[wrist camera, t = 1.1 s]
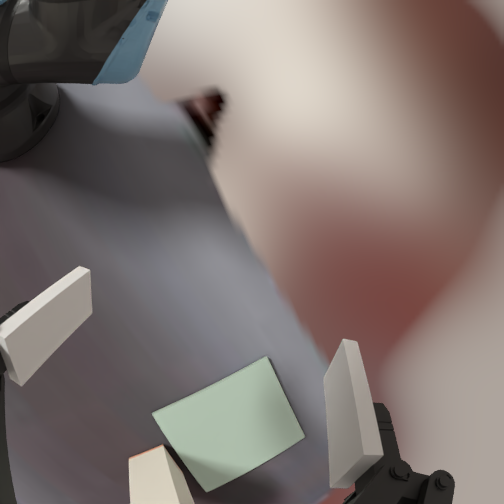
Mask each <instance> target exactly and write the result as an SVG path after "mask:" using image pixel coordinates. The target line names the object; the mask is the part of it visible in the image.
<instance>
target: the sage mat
mask: <svg viewBox="0 0 504 504" xmlns="http://www.w3.org/2000/svg"><path fill="white" fill-rule="evenodd" d="M152 415H153V417H154V418H155V420H156V422H157V423H158V425H159V426H160V428H161V430H162V431H163V433H164V434H165V436H166V437H167V439H168V440H169V442H170V443H171V445H172V446H173V448H174V449H175V451H176V452H177V454H178V455H179V457H180V458H181V460H182V461H183V462H184V464H185V465H186V467H187V468H188V469H189V471H190V472H191V473H192V475H193V476H194V477H195V479H196V480H197V481H198V483H199V484H200V485H201V486H202V488H203V489H204V490H205V491H206V492H209V491H211V490H213V489H215V488H217V487H219V486H221V485H223V484H225V483H227V482H229V481H231V480H233V479H235V478H237V477H239V476H241V475H243V474H245V473H247V472H248V471H250V470H252V469H254V468H256V467H257V466H259V465H261V464H263V463H264V462H266V461H268V460H270V459H271V458H273V457H275V456H276V455H278V454H279V453H281V452H283V451H284V450H286V449H287V448H289V447H291V446H292V445H294V444H295V443H297V442H298V441H300V440H301V439H303V438H304V437H305V435H304V433H303V431H302V429H301V427H300V425H299V423H298V421H297V419H296V417H295V415H294V413H293V411H292V409H291V406H290V404H289V402H288V400H287V398H286V396H285V394H284V392H283V390H282V388H281V385H280V383H279V381H278V379H277V377H276V375H275V373H274V370H273V368H272V366H271V364H270V362H269V360H268V357H266V356H265V357H263V358H261V359H260V360H258V361H256V362H254V363H252V364H251V365H249V366H247V367H245V368H243V369H241V370H239V371H238V372H236V373H234V374H232V375H230V376H228V377H226V378H224V379H222V380H220V381H218V382H216V383H214V384H212V385H210V386H208V387H206V388H204V389H202V390H200V391H198V392H196V393H194V394H192V395H190V396H188V397H186V398H184V399H181V400H179V401H177V402H175V403H173V404H171V405H168V406H166V407H164V408H162V409H159V410H157V411H155V412H153V413H152Z"/></svg>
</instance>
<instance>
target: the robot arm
mask: <svg viewBox="0 0 504 504" xmlns="http://www.w3.org/2000/svg"><path fill="white" fill-rule="evenodd" d="M167 2H168V0H0V162H3V161H8V160H11V159H14V158H16V157H18V156H20V155H22V154H24V153H25V152H27V151H28V150H30V149H31V148H32V147H33V146H35V145H36V144H37V143H38V142H39V141H40V140H41V139H42V138H43V137H44V136H45V134H46V133H47V132H48V130H49V129H50V128H51V126H52V124H53V122H54V120H55V118H56V116H57V113H58V110H59V103H60V99H59V93H58V89H57V85H56V83H80V84H92V85H97V84H99V83H110V84H123V83H126V82H129V81H130V80H132V79H134V78H135V77H136V76H137V74H138V73H139V71H140V68H141V66H142V63H143V61H144V58H145V55H146V53H147V50H148V48H149V45H150V42H151V40H152V37H153V35H154V32H155V30H156V27H157V25H158V22H159V20H160V18H161V16H162V13H163V11H164V8H165V6H166V4H167ZM91 314H92V300H91V279H90V270H89V269H86V268H83V267H80V266H79V267H77V268H76V269H74V270H73V271H72V272H70V273H69V274H67V275H66V276H64V277H63V278H62V279H60V280H59V281H57V282H56V283H55V284H53V285H52V286H51V287H49V288H48V289H46V290H45V291H44V292H42V293H41V294H40V295H38V296H37V297H36V298H34V299H33V300H32V301H30V302H29V301H26V302H23V303H21V304H18V305H17V306H16V307H14V308H13V309H12V310H11V311H9V312H8V313H6V315H4V316H3V317H1V318H0V504H17V502H16V498H15V493H14V488H13V483H12V477H11V471H10V465H9V457H8V449H7V439H6V426H5V396H4V392H5V378H4V375H3V373H4V372H5V371H6V370H7V371H8V374H9V376H10V379H11V380H13V381H14V382H16V383H17V384H19V385H20V386H21V387H22V386H23V385H24V384H25V382H26V381H27V380H28V379H29V378H30V377H31V376H32V375H33V374H34V373H35V371H36V370H37V369H38V368H39V367H40V366H41V365H42V364H43V363H44V362H45V361H46V360H47V359H48V358H49V357H50V355H51V354H52V353H53V352H54V351H55V350H56V349H57V348H58V347H59V346H60V345H61V344H62V343H63V342H64V341H65V340H66V339H67V338H68V337H69V336H70V335H71V334H72V333H73V332H74V331H75V330H76V329H77V328H78V327H79V326H80V325H81V324H82V323H83V322H84V321H85V320H86V319H87V318H88V317H89V316H90V315H91ZM323 381H324V392H325V405H326V418H327V433H328V451H329V474H330V488H349V487H350V486H351V485H352V484H353V483H355V491H354V492H353V493H352V494H350V495H349V496H348V497H347V498H345V499H344V500H345V502H344V503H343V504H452V500H453V494H454V487H455V482H454V479H453V477H452V476H451V475H450V474H449V473H448V472H446V471H444V470H437V471H435V472H434V473H433V474H431V475H430V476H428V475H424V474H420V473H416V472H413V471H412V469H411V467H410V465H408V464H407V463H406V462H405V461H403V460H401V458H400V454H399V449H398V445H397V441H396V437H395V432H394V431H393V430H394V428H393V425H392V424H391V423H392V421H391V417H390V413H389V411H388V410H387V408H386V407H385V406H384V404H383V403H373V402H372V398H371V394H370V389H369V386H368V381H367V378H366V373H365V369H364V365H363V362H362V358H361V354H360V350H359V347H358V343H357V341H352V340H347V339H342V342H341V344H340V346H339V348H338V350H337V352H336V354H335V356H334V358H333V360H332V362H331V364H330V366H329V368H328V370H327V372H326V374H325V376H324V378H323Z"/></svg>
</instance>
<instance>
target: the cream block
mask: <svg viewBox="0 0 504 504" xmlns="http://www.w3.org/2000/svg"><path fill="white" fill-rule="evenodd" d="M129 485H130V504H195V503H194V501H193V498H192V496H191V493H190V491H189V488H188V486H187V483H186V480H185V478H184V475H183V472H182V471H181V469H180V468H179V467H178V465H177V464H176V463H175V461H174V460H173V458H172V457H171V455H170V454H169V453H168V451H167V450H166V448H165V447H164V445H163V444H162V445H160V446H158V447H155V448H153V449H150V450H148V451H146V452H143V453H140V454H138V455H135V456H133V457H130V458H129Z"/></svg>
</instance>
